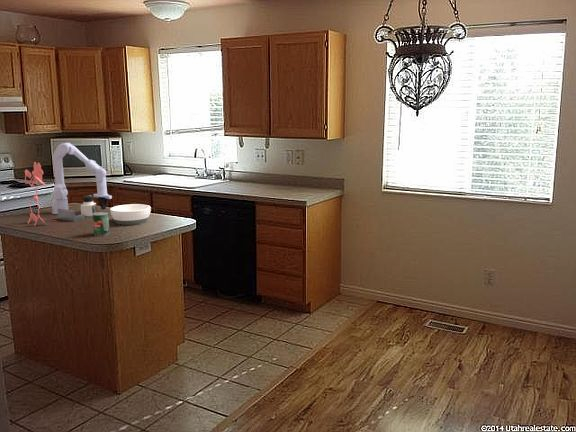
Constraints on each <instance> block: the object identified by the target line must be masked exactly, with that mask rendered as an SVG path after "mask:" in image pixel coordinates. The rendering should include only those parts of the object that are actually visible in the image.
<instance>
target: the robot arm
mask: <svg viewBox="0 0 576 432" xmlns="http://www.w3.org/2000/svg"><path fill="white" fill-rule="evenodd" d="M67 154H68V155H73V156H75V157H76V158H78V159H79V160H80V161H81V162H82V163H84V165H85V168H87V170H89V172H92V173H93V174H94V176H95V178H96V189H97V192H96V193H93V194H92V195H93V198H96V201H97V202H98V203H99V206H100V209H101V210H106V208H107V203H108V201H109V200H111V199H112V198H113V196H112V195H110V194H109V193H108V189H107V178H106V177H107V170H106V169H105V168H103V167H102V165H99V164H98V163H97V161H96V160H93V159H89V158H88V157H86V155H85V154H84V153H82V152H81V151H80V149H78V148H77V147H76V146H75V145H73V144H72V142H64V143H60V144H58V145H57V146H56V149H55V151H54V152H53V155H52V160H53V161H52V162H53V173H54V183H55V184H54V189H53V193H52V196H53V198H54V199H53V200H52V201H51V209H52V212H51V214H53V215H54V214H55V215H58V210H57V209H65V210H69V203H68V202H69V200H68V197H67V196H68V194H69V191H68V189H67V187H66V184H65V177H64V176H65V175H64V173H65V172H64V166H63V165H64V163H63V158H64V157H65V156H66V155H67Z"/></svg>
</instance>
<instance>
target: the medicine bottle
mask: <svg viewBox="0 0 576 432" xmlns="http://www.w3.org/2000/svg"><path fill="white" fill-rule="evenodd" d="M97 207H98V206H97V203H96V202H94V196H92V195H84V196H83V197H82V204H80V215H82V214H84V215H85V217H93V215H92V214H93V213H96V212H98V210H97V209H98V208H97Z"/></svg>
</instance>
